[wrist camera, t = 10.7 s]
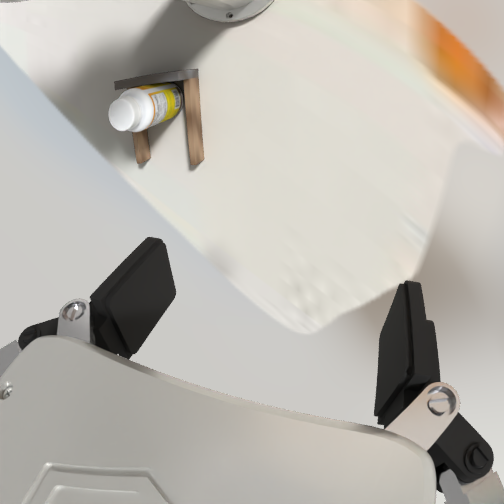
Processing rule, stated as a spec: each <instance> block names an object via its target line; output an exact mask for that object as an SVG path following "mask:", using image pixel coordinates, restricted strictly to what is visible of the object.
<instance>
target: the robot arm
mask: <svg viewBox="0 0 504 504" xmlns="http://www.w3.org/2000/svg"><path fill="white" fill-rule="evenodd" d="M21 1H27V0H0V3H10V2H21ZM183 1H186V2H187V4H188V6H189V7H190V8H191V9H192V10H193V11H194V12H195V13H197V14H198V15H200V16H201V17H204V18H207V19H209V20H213V21H218V22H236V21H241V20H245V19H247V18H250V17H253V16H255V15H256V14H258V13H260V12H262V11H263V10H264V9H265V8H267V7H268V6H269V5H270V4H271V3H272V2H273V1H274V0H183ZM231 15H233V17H232V18H231V17H230V16H231ZM175 295H176V289H175V285H174V280H173V276H172V272H171V268H170V263H169V258H168V253H167V249H166V245H165V243H163V241H162V240H161V239H159V238H153V237H148V238H146V239H145V240H144V241H143V242H142V243H141V244H140V245H139V246H138V247H137V248H136V249H135V250H134V251H133V252H132V253H131V254H130V255H129V256H128V257H127V258H126V259H125V260H124V261H123V262H122V263H121V264H120V265H119V266H118V267H117V268H116V269H115V271H114V272H112V274H111V275H110V276H109V277H108V278H107V279H106V280H105V281H104V282H103V283H102V284H101V285H100V286H99V287H98V289H96V291H95V292H94V293H93V294H92V295H91V296H90V298H91V302H90V303H88V302H87V301H86V300H84V299H74V300H72V301H69V302H68V303H66V304H65V305H64V306H63V307H62V309H61V310H60V313H59V317H58V318H55V319H52V320H48V321H45V322H43V323H39V324H36V325H32V326H30V327H28V328H26V329H25V330H24V331H23V332H22V333H21V335H20V337H19V340H18V342H17V341H16V340H15V341H13V342H11V343H10V344H8V345H7V346H5V347H3V348H1V349H0V504H435V502H436V489H437V490H438V491H439V492H441V493H444V496H445V498H446V502H444V503H445V504H504V488H503V486H502V483H501V481H500V478H499V476H498V474H497V472H494V473H493V470H492V468H491V467H492V464H493V461H494V458H493V451H492V448H491V447H490V446H489V444H488V443H487V442H486V441H485V440H484V439H483V438H482V437H481V435H480V434H479V433H478V432H477V431H476V430H475V429H474V428H473V427H472V426H471V425H470V424H469V423H468V422H467V421H466V420H465V419H464V417H462V415H461V414H460V413H459V412H458V411H459V409H460V399H459V396H458V393H457V391H456V390H455V389H454V388H453V387H452V386H450V385H448V384H447V383H443V382H440V369H439V359H438V349H437V341H436V333H435V326H434V323H433V321H430V320H426V314H425V307H424V300H423V294H422V289H421V284H420V283H418V282H413V281H407V280H406V281H405V282H404V284H399V286H398V289H397V292H396V295H395V297H394V300H393V303H392V305H391V308H390V311H389V313H388V316H387V318H386V321H385V323H384V326H383V328H382V331H381V334H380V338H379V357H378V375H377V387H376V399H375V409H374V416H378V424H380V425H384V429H380V428H376V427H372V426H367V425H362V424H357V423H352V422H346V421H340V420H335V419H329V418H324V417H319V416H313V415H309V414H304V413H299V412H294V411H290V410H285V409H281V408H277V407H272V406H268V405H264V404H260V403H256V402H252V401H249V400H245V399H242V398H238V397H234V396H231V395H227V394H224V393H220V392H217V391H214V390H211V389H207V388H204V387H201V386H198V385H195V384H192V383H189V382H186V381H183V380H180V379H177V378H175V377H172V376H169V375H166V374H164V373H161V372H158V371H156V370H153V369H150V368H148V367H145V366H142V365H140V364H138V363H135V362H133V361H130V360H129V359H130V357H131V356H132V354H135V353H137V351H138V350H139V348H140V347H141V346H142V344H143V343H144V341H145V340H146V338H147V337H148V335H149V334H150V332H151V331H152V330H153V328H154V327H155V325H156V324H157V322H158V321H159V319H160V318H161V317H162V315H163V314H164V312H165V311H166V310H167V308H168V307H169V305H170V304H171V303H172V301H173V300H174V298H175ZM117 354H119V356H118V355H117ZM123 357H124V358H123ZM125 358H126V359H125Z"/></svg>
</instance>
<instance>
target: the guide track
mask: <svg viewBox="0 0 504 504" xmlns="http://www.w3.org/2000/svg"><path fill="white" fill-rule="evenodd" d="M179 80H184V95H185V108H186V120H187V132H188V142H189V153H190V163H191V165H197V164H198V163H200V162H201V161H203V160H204V151H203V138H202V125H201V111H200V95H199V78H198V69H190V70H181V71H173V72H166V73H159V74H152V75H146V76H140V77H135V78H130V79H125V80H120V81H115V82H114V84H115V90H118V89H123V88H127V90H129V89H132V88H136V87H140V86H142V85H148V84H155V83H162V82H170V81H179ZM132 134H133V140H134V147H135V154H136V160H137V163H143V162H145V161H146V160H148V159H150V158H151V156H150V149H149V142H148V134H147V129H145V130H142V131H140V132H132Z"/></svg>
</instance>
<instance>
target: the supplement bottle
mask: <svg viewBox="0 0 504 504" xmlns="http://www.w3.org/2000/svg"><path fill="white" fill-rule="evenodd" d="M182 106H183V95H182V92H181V90H180V88H179V87H178V86H177V85H176V84H174V83H172V82H162V83H155V84H149V85H145V86H140V87H136V88H132V89H129V90H126V91H125V92H123V93H122V94H121V95H120V97H119V98H118V99H116V100H115V101H113V102H112V104H111V105H110V108H109V112H108V116H109V120H110V123H111V125H112V126H113V127H114V128H115V129H116V130H118V131H126V130H128V131H131V132H140V131H142V130H145V129H147V128H149V127H151V126H154V125H156V124H159V123H161V122H163V121H166V120H168V119H171V118H173V117H175V116H176V115H177V114H178V113H179V112H180V110H181V109H182Z"/></svg>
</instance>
